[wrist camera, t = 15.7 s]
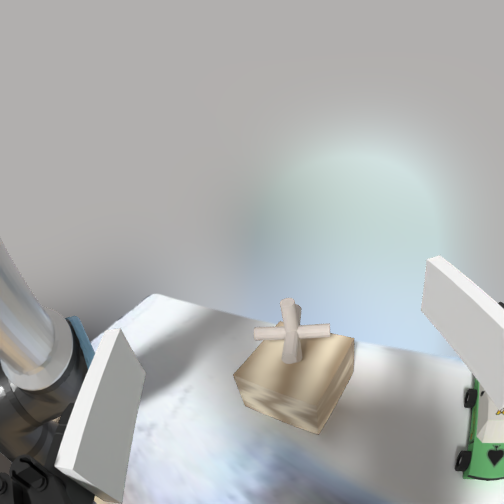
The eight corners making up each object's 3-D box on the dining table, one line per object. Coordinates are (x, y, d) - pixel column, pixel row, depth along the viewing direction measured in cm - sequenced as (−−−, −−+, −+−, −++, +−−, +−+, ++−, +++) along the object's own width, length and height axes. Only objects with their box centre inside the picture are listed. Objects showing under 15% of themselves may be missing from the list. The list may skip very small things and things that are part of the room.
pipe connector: (330, 333, 44) (327, 277, 40) (331, 383, 35) (328, 326, 31) (266, 336, 46) (255, 283, 42) (255, 384, 38) (239, 330, 33)
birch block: (245, 405, 43) (233, 374, 40) (286, 354, 52) (279, 321, 49) (318, 434, 36) (316, 405, 32) (353, 372, 45) (354, 338, 41)
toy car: (450, 485, 22) (464, 472, 20) (465, 378, 36) (474, 358, 34) (513, 484, 16) (531, 469, 14) (515, 380, 30) (526, 360, 28)
